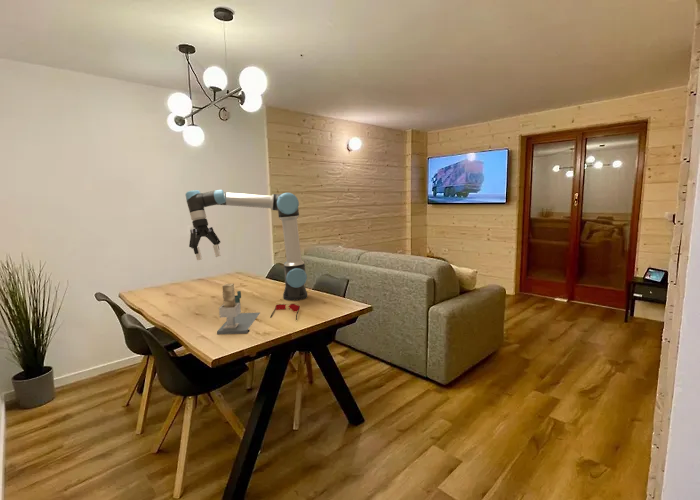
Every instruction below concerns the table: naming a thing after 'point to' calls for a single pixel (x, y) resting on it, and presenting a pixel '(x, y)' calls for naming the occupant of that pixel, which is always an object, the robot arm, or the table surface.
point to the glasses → (283, 306)
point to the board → (244, 325)
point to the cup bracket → (230, 315)
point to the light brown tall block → (229, 295)
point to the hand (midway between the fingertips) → (209, 258)
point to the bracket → (238, 297)
